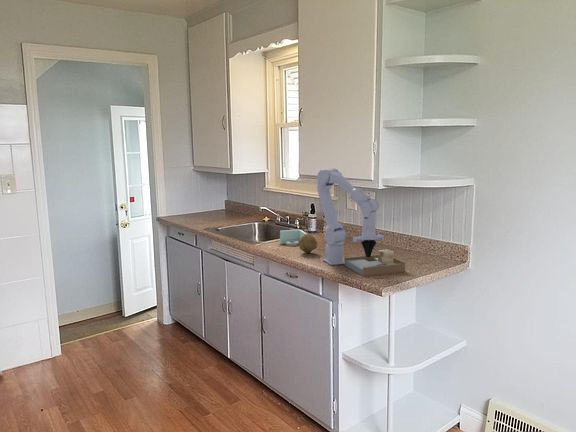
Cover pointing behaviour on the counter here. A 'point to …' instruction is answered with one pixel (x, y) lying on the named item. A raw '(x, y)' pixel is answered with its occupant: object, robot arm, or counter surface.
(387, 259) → the wood block
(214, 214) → the counter surface
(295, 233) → the l-shaped corner panel
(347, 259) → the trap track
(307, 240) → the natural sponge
